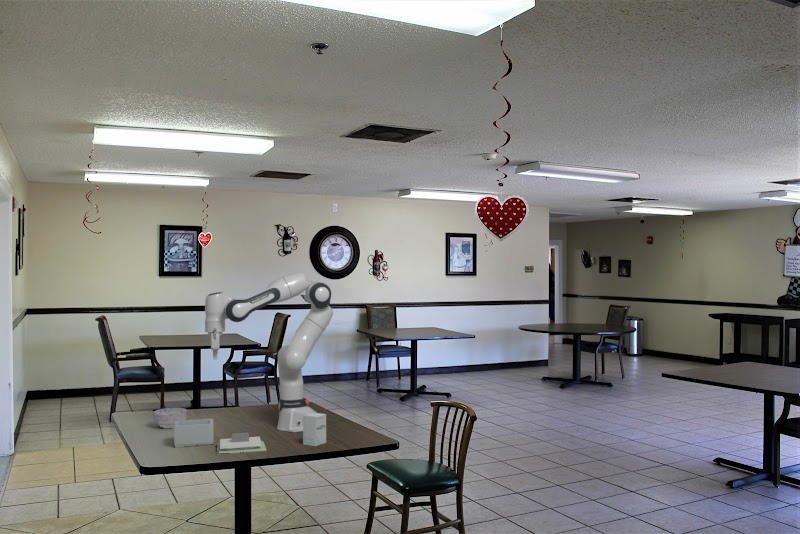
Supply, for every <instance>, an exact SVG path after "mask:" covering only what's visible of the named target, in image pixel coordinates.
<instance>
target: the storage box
mask: <svg viewBox="0 0 800 534" xmlns="http://www.w3.org/2000/svg"><path fill="white" fill-rule="evenodd" d="M173 430H174V434H173V438H174V440H173V441H174V442H173V443H174V444H173V445H176V444H215V443H214V441H215V440H214V418H202V419H188V420H182V421H176V422H175V426H174V428H173Z"/></svg>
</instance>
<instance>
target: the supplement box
mask: <svg viewBox="0 0 800 534" xmlns="http://www.w3.org/2000/svg"><path fill="white" fill-rule="evenodd" d="M326 443H327V413H322V412H321V413H320V412H317V413H311V414H307V415H303V431H302V445H304V446H305V445H306V446H309V447H317V446H321V445H324V444H326Z"/></svg>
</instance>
